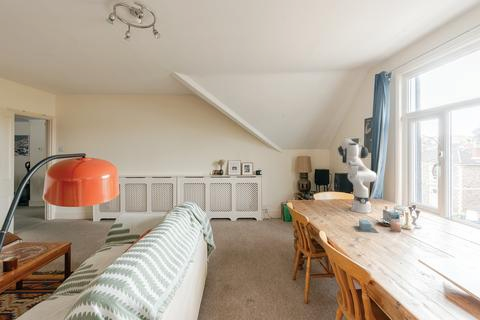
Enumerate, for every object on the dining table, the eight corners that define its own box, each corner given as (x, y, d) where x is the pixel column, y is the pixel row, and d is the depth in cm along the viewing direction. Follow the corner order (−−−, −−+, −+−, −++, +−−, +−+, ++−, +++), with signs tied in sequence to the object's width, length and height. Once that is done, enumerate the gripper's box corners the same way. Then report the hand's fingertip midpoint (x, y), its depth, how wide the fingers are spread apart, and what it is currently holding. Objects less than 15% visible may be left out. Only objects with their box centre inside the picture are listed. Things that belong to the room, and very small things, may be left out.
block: (359, 219, 167) (362, 223, 158) (367, 220, 165) (371, 224, 156) (359, 225, 167) (361, 230, 158) (367, 226, 165) (371, 231, 156)
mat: (353, 225, 167) (353, 225, 167) (374, 227, 163) (374, 227, 163) (356, 231, 157) (356, 230, 157) (378, 233, 153) (378, 232, 153)
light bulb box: (400, 226, 166) (400, 212, 165) (391, 226, 166) (391, 212, 166) (390, 221, 177) (390, 208, 176) (382, 221, 177) (382, 208, 176)
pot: (389, 229, 161) (389, 221, 160) (398, 229, 159) (398, 221, 158) (392, 231, 155) (392, 223, 155) (402, 232, 153) (402, 224, 153)
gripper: (346, 161, 191) (345, 177, 192) (350, 163, 171) (350, 180, 172) (353, 161, 189) (353, 177, 190) (359, 163, 169) (359, 180, 170)
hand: (352, 178), depth 181 cm, fingers open, 8 cm apart
